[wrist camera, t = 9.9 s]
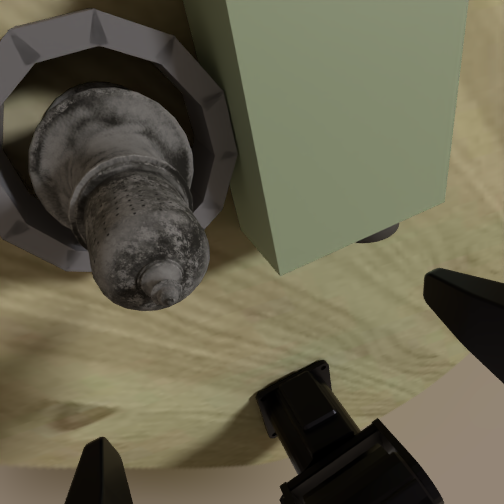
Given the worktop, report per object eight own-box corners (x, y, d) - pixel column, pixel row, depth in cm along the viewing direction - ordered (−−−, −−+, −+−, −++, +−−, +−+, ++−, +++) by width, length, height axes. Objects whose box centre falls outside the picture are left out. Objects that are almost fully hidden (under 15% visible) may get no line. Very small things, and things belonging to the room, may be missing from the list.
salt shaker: (-3, 115, 15) (-90, 284, 6) (130, 48, 16) (241, 103, 7) (87, 228, 19) (122, 442, 10) (193, 168, 20) (321, 315, 10)
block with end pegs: (382, 193, 26) (441, 226, 22) (83, 320, 21) (90, 390, 17) (386, -183, 16) (498, -247, 12) (-185, -88, 11) (-312, -137, 7)
